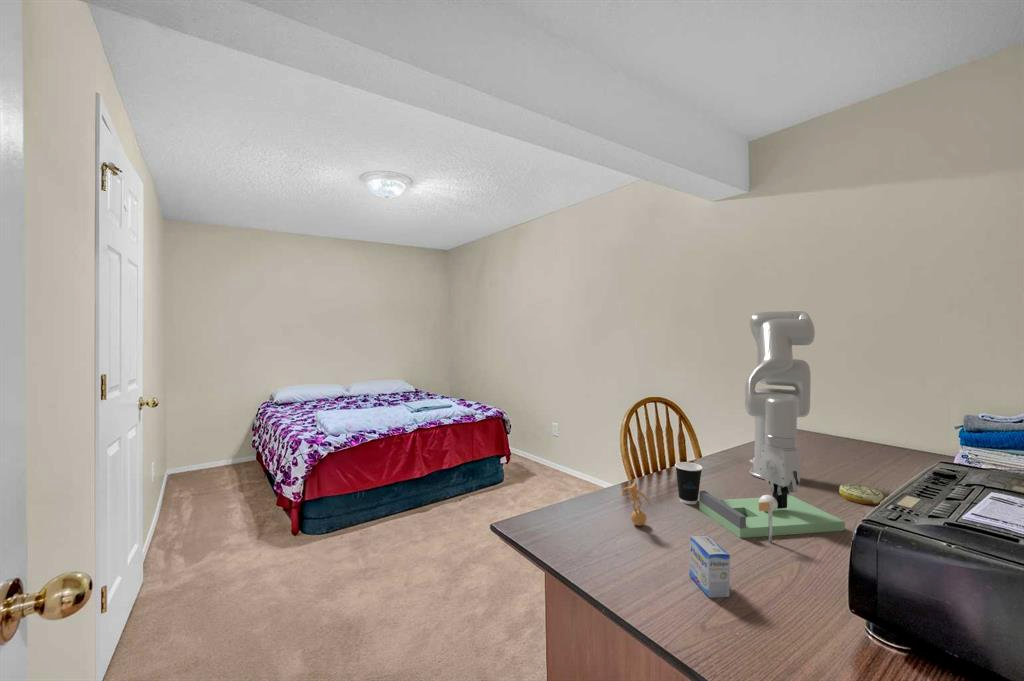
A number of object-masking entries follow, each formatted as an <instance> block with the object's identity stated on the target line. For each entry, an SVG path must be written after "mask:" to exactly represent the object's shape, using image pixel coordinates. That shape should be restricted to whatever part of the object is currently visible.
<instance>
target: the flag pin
mask: <svg viewBox="0 0 1024 681" xmlns="http://www.w3.org/2000/svg"><path fill="white" fill-rule="evenodd" d="M768 510H769V521H768V536H767V538H768V539H767V540H768V543H769V544H773V536H772V502H770V501H769V502H761V503H759V511H768Z"/></svg>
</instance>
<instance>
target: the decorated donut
mask: <svg viewBox="0 0 1024 681" xmlns="http://www.w3.org/2000/svg"><path fill="white" fill-rule="evenodd" d="M838 491H839V492H838V493H839V494H840V495H841V497H842V498H844V499H845V500H847V501H849V502H853V503H856V504H861V505H869V506H870V505H873V506H878V505H880V504H879V503H880V502H881V501H882V500H883V501H884V497H885V496H884V494H883V493H882V492H881V491H880V490H878V489H875V488H872V487H869V486H865V485H861V484H855V483H845V484H840V486H839V488H838Z"/></svg>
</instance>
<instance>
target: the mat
mask: <svg viewBox="0 0 1024 681" xmlns="http://www.w3.org/2000/svg"><path fill="white" fill-rule="evenodd" d="M759 499H760V497H749V498H748V497H747V498H727V499H719V498H717V497H716V496H714V495H712V494H711V493H709V492H708V491H706V490H699V494H698V500H699V505H698V506H699V508H698V509H699V510H700V511H701V512H703V513H704V514H705V515H707V516H708V517H710V518H711V519H712V520H713V521H715V522H717V523H718V524H719V525H721V526H722V527H724V528H725V529H726V530H728V531H729V532H731V533H732V534H733V535H735V536H737V538H739V539H745V538H746V539H747V538H759V537H768V521H769V512H767V511H759ZM845 527H846V521H845V520H842V519H840V518H839V517H836V516H835V515H833V514H831V513H828V512H826V511H824V510H822V509H820V508H819V507H817V506H814V505H812V504H810V503H808V502H806V501H803V500H801V499H799V498H797V497H796V496H793V495H787V508H781V509H776V510H775V511H773V512H772V537H774V536H775V537H776V536H786V535H787V536H788V535H799V534H800V535H802V534H814V533H828V532H843V530H846V528H845Z"/></svg>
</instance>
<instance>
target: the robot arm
mask: <svg viewBox="0 0 1024 681" xmlns="http://www.w3.org/2000/svg"><path fill="white" fill-rule="evenodd" d="M749 327H750V332H751V334H752V336H753V338H754V340H755V343H756V347H757V348H756V350H757V356H756V357H757V358H756V359H757V361H756V362H757V366H755V367H754V368H753V370H751V372H750V373H749V374H748V377H747V378H746V381H745V387H744V391H745V392H744V394H745V395H744V406H745V411H746V413H747V414H748V415H749V416H751V417H753V418H754V457H753V458H752V459H750V460H749V463H750V464H752V467H751V468H750V469H749V474H750V475H751V476H753V477H755V478H759V479H762V480H765V481H766V482H767V483H768V484H769V486H770V491H771V492H772V496H773V497H774V498H775V499H776V500H777V503H778V507H777V509H781V508H787V496H789V494H790V493H797V492H798V486H799V485H800V484H801V483H800V482H801V465H800V456H799V452H798V449H797V447H798V446H797V445H798V444H797V443H798V440H797V439H798V436H797V434H798V432H797V430H798V428H797V427H798V426H797V425H798V418H804V417H807V416H809V413H810V410H811V409H810V408H811V379H812V377H811V369H810V364H809V363H808V362H807V361H805V360H803V359H797V358H796V359H795V358H793V346H810V345H811V344H812V343H813V342H814V339H815V335H816V334H815V333H816V332H815V326H814V323H813V320H812V318H811V316H810V315H809V313H807V312H805V311H762V312H756V313H754V314H752V315H751V316H750V318H749ZM758 383H761V384H762V385H767V386H781V387H782V386H783V387H793V388H794V389H785V388H784V389H783V388H773V387H772V388H770V387H769V388H768V387H767V388H764V387H763V388H759V389H756V385H757V384H758Z"/></svg>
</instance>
